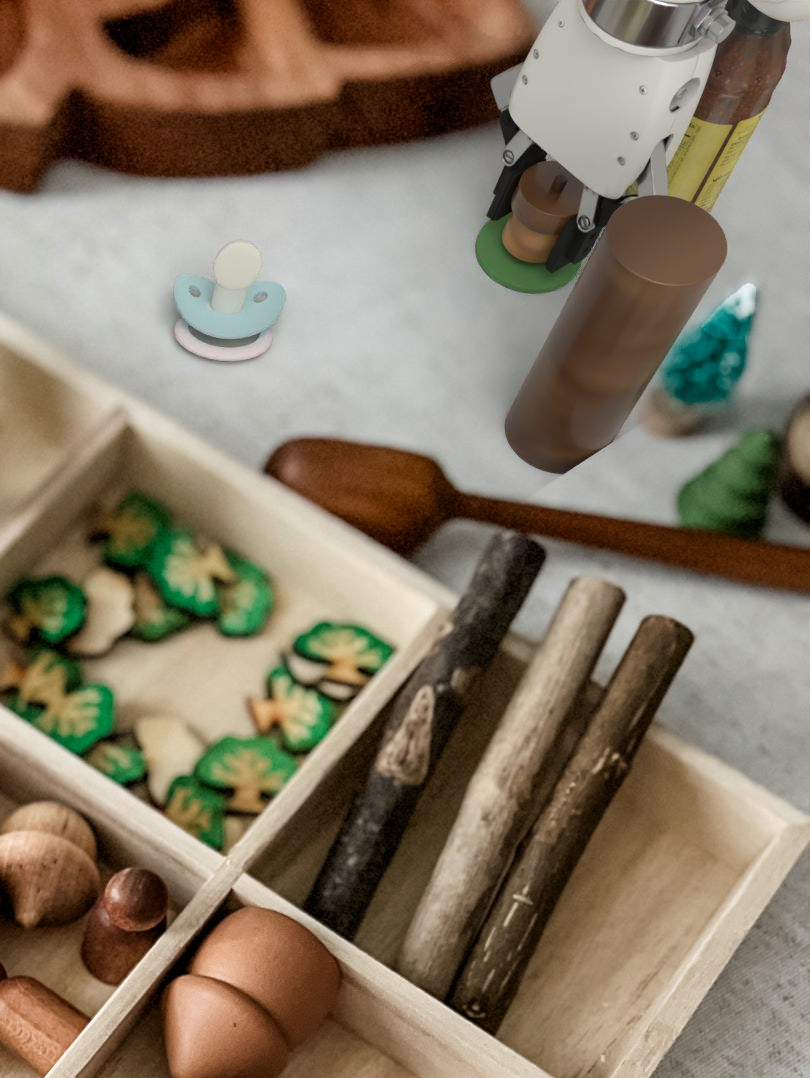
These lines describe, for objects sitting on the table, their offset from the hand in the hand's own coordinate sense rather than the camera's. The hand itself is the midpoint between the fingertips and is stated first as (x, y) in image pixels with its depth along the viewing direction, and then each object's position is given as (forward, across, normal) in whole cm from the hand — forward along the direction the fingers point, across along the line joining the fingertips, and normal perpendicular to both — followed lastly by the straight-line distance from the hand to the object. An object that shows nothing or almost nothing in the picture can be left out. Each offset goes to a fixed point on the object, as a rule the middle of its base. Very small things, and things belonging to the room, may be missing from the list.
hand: (535, 233), depth 113 cm
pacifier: (+2, +7, +21) cm, 22 cm away
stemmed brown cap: (+1, 0, 0) cm, 1 cm away
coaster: (+2, 0, 0) cm, 2 cm away
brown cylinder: (+2, -12, +9) cm, 15 cm away
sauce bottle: (+2, -3, -9) cm, 10 cm away
